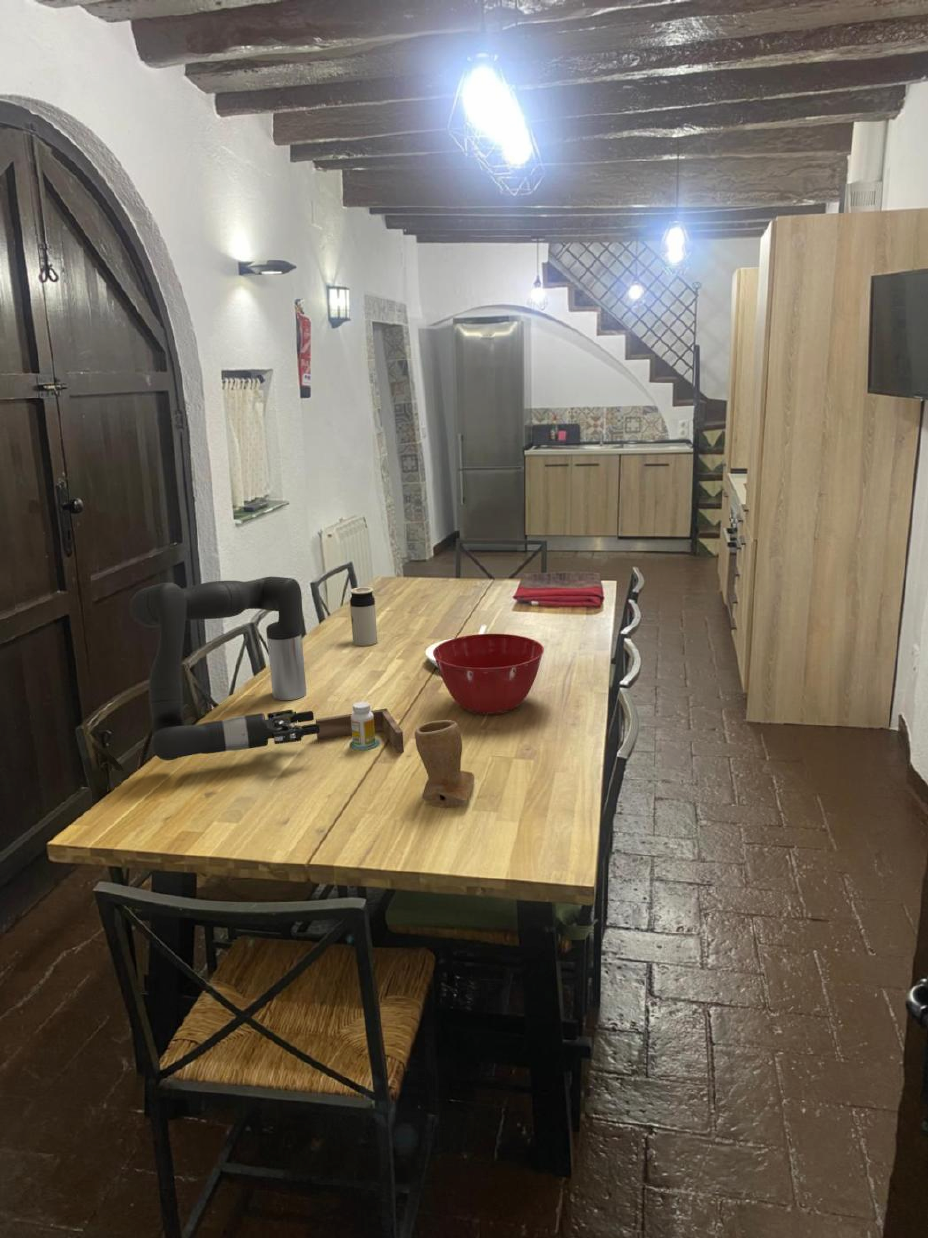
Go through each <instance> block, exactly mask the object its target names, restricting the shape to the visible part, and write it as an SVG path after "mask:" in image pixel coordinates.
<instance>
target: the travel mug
mask: <svg viewBox="0 0 928 1238" xmlns="http://www.w3.org/2000/svg"><path fill="white" fill-rule="evenodd" d="M349 592H350V594H351V597H350V600H349V606H350V617H351V618H350V619H351V631H352V632H351V634H352V644H353V645H355V646H358V647H369V645H370V646H373V645H375V644H377V643H378V631H377V630H378V629H377V627H378V626H377V614H376V613H377V612H376V601H375V599H376V598H375V597H374V596H373V592H374V588H372V587H370V586H368V587H367V586H363V587H362V586H359V587H355V588H351V589H350V590H349Z"/></svg>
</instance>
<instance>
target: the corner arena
mask: <svg viewBox="0 0 928 1238" xmlns="http://www.w3.org/2000/svg"><path fill="white" fill-rule="evenodd" d="M370 711H371V712H372V713H373V716H374V728H375V733H377V732H381V731H382V730H383V733H384V734H385V736H386V735H387V736H386V738H387V739H388V741H389V742H390V744H391V745H392V746H393V748H394V749H396V750H395V751H396V752H397V754H398V753H404V752H405V748H404V734H403V733H404V731H403V730H402V729H401V727H400V726H399V725H398V723H397V721H396V720H395V719H394V718H393V716H392V714H391V713H390V711H389V710H388V709H387V708H382V709H373V710H370ZM351 715H352V713H347V714H341V715H340V714H339V715H336V716H334V715H333V716H328V717H322V718H321V717H320V718H315V724H316V723H317V724H319V729H320V732H319V733H318V734H316V739H317V741H318V742H319V741H325V740H326V741H327V740H331V739H339V738H344V737H345V738H346V737H351V736H352V728H351ZM376 731H377V732H376ZM350 735H351V736H350ZM379 745H380V740H379V739H378V738H376V737H375V743H374V744H373V745H371V746H367V747H357V746H355V745H354V744H353V740H351V742H349V747H350V748H351V749H352V750H356V749H357V751H368V750H367V749H369V750H372V749H374V748H377V747H378V746H379Z"/></svg>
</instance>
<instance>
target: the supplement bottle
mask: <svg viewBox="0 0 928 1238" xmlns="http://www.w3.org/2000/svg"><path fill="white" fill-rule="evenodd" d="M352 711H353V712H352V713H351V714H352V715H351V728H352V735H351V741H353V744H354V745H355V746H357V747H367V746H371V745H373V744H374V743H375V738H376V732H375V728H374V716H373V713H372V712H371V711H372V710H371V704H370V703H369V702H367V701H359V702H354V703H353V704H352Z"/></svg>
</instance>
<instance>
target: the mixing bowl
mask: <svg viewBox="0 0 928 1238" xmlns="http://www.w3.org/2000/svg"><path fill="white" fill-rule="evenodd" d="M454 638H455V637H454ZM450 639H451V640H448V639H447V640H448V641H446V642H443V643H441V644H440V645H438V646H437V647H436V648H435V649H434V651H433V656H434V658H435V659H436V663H437V666H438V667H437V668H438V672H439V674H440V676H441V679H442V681H443V683H444V685H445V687H446V688H447V690H448V692H449V694H450V696H451V697H452V699H453V700H454V701H455V702H456V703H457V704H458V705H459V706H460V707H462V708H463V709H465V710H467V711H469V712H470V713H474V714H478V715H500V714H503V713H504V714H505V713H508V712H510V711H512V710H513V709H515V708H516V707H518V706H519V705H520V704H521V703H522V702H524V700H525V699H526V698H527V696H528V694H529V692H530V691H531V689H532V687H533V684H534V683H535V680H536V677H537V674H538V671H539V667H540V664H541V661H542V657H543V655H544V652H545V651H544V650H545V649H544V646H543V645H542V644H541V643H540V642H539V641H537V640H535V639H532V638H529V637H526V636H521V635H517V634H508V633H484V634H477V633H476V634H470V635H463V636H459V637H456V638H455V639H453V638H450Z"/></svg>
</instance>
